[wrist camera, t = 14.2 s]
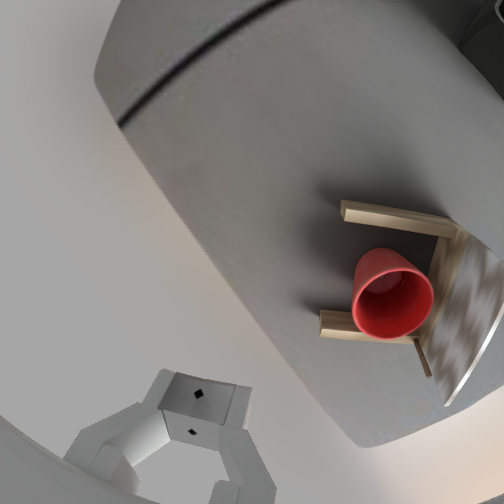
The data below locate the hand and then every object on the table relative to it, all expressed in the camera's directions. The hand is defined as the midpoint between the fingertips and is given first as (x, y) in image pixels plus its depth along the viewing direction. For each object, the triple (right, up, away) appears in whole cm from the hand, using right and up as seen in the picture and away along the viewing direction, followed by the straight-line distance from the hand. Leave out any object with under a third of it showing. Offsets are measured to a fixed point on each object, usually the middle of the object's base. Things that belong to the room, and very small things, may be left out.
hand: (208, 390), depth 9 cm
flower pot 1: (+20, +2, +32) cm, 38 cm away
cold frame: (+21, +2, +32) cm, 38 cm away
